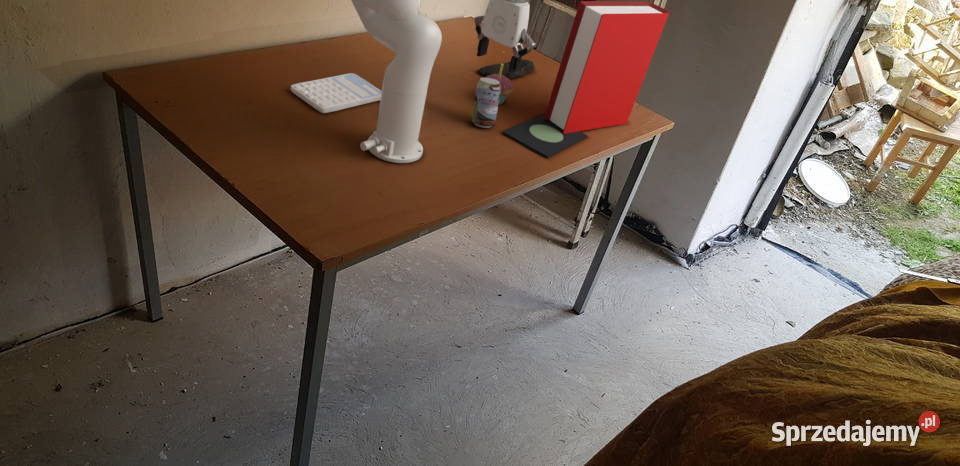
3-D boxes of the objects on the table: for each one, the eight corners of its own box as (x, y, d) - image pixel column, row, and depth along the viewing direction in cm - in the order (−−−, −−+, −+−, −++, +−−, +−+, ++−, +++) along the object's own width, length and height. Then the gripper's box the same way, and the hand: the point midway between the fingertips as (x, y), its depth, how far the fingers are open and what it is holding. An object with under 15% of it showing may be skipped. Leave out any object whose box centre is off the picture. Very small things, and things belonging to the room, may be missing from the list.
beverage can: (479, 132, 175) (490, 88, 168) (463, 118, 179) (473, 75, 172) (499, 129, 178) (510, 86, 172) (482, 116, 183) (493, 73, 176)
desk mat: (547, 158, 171) (548, 156, 171) (502, 133, 177) (502, 131, 177) (587, 137, 186) (587, 135, 185) (544, 115, 191) (545, 112, 191)
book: (563, 133, 183) (603, 13, 165) (543, 119, 187) (580, 1, 170) (629, 123, 200) (672, 13, 182) (609, 110, 204) (649, 1, 187)
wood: (492, 83, 201) (494, 74, 199) (475, 72, 205) (477, 62, 203) (543, 74, 215) (546, 65, 214) (526, 64, 219) (529, 55, 218)
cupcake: (506, 110, 189) (517, 68, 182) (476, 101, 189) (485, 59, 182) (511, 98, 196) (522, 58, 189) (482, 90, 196) (492, 49, 189)
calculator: (288, 90, 171) (288, 83, 170) (352, 77, 184) (353, 71, 183) (322, 115, 165) (322, 107, 164) (386, 99, 178) (387, 92, 177)
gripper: (473, -19, 161) (460, 52, 170) (534, 9, 154) (516, 81, 163) (493, -22, 166) (478, 46, 176) (552, 4, 159) (534, 74, 169)
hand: (496, 63), depth 170 cm, fingers open, 9 cm apart
